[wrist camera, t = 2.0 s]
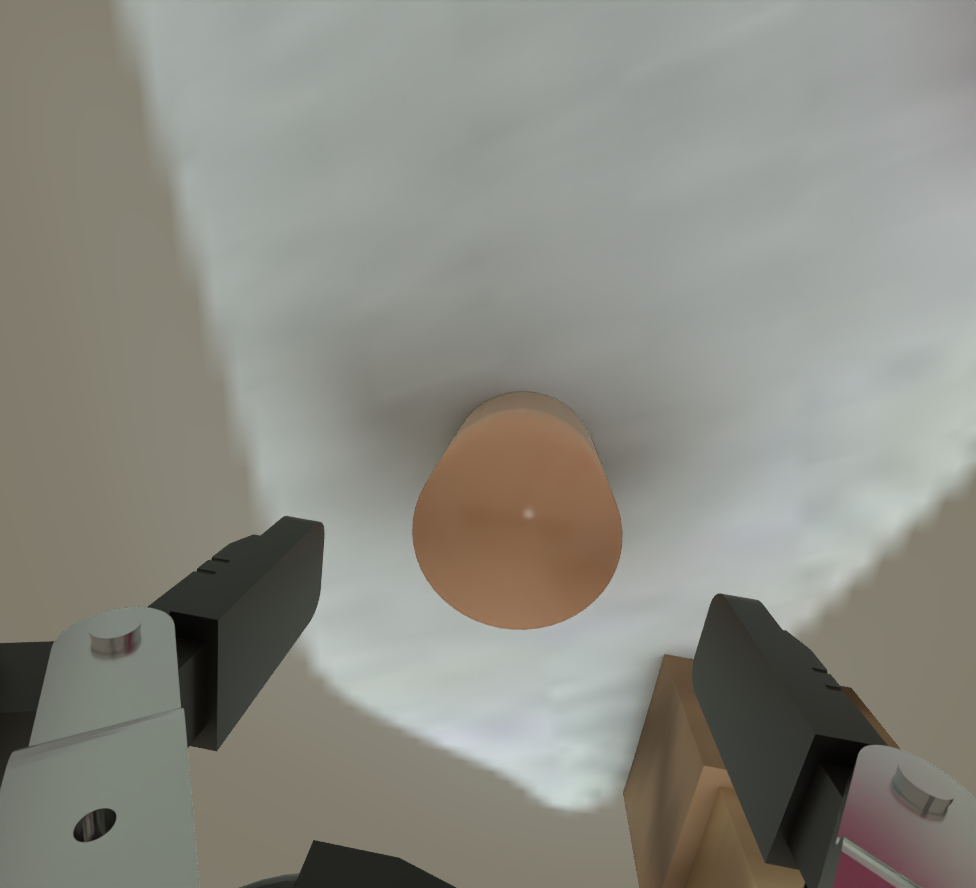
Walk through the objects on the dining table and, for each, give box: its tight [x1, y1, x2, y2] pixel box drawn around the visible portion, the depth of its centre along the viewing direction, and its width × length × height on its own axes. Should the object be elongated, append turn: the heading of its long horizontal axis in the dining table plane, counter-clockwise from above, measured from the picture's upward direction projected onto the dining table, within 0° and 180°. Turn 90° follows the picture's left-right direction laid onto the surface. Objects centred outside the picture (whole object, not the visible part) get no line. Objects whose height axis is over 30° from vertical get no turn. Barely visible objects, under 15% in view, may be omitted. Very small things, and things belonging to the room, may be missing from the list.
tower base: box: [623, 654, 901, 888], centre depth 18 cm, size 7×7×5 cm
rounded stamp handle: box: [412, 392, 622, 630], centre depth 15 cm, size 5×5×6 cm
